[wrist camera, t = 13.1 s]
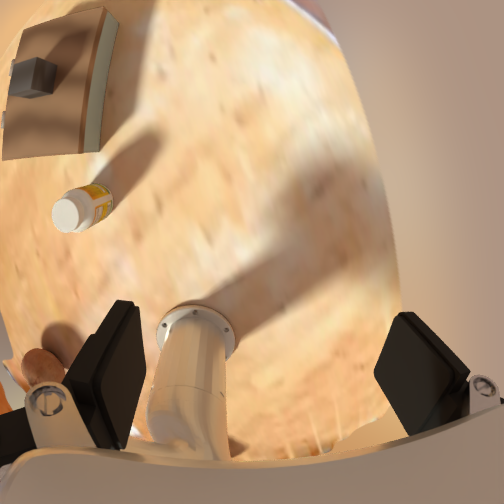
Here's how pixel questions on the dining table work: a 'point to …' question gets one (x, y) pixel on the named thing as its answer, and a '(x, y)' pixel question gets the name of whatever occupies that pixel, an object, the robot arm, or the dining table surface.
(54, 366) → the onion
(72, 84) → the door
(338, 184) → the dining table surface
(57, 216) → the supplement bottle
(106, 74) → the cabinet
